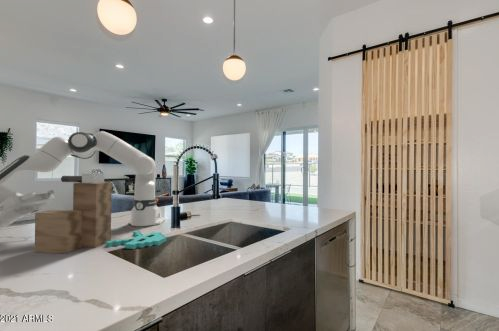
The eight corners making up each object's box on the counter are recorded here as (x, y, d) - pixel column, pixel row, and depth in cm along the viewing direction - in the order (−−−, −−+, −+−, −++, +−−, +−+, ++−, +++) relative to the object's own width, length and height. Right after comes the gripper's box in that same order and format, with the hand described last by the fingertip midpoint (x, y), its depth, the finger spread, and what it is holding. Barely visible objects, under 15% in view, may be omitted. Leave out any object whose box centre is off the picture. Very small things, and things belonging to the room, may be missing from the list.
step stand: (71, 239, 117) (71, 181, 117) (110, 240, 116) (111, 182, 116) (34, 252, 99) (35, 184, 100) (80, 254, 98) (81, 185, 98)
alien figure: (105, 247, 107) (149, 251, 103) (105, 242, 107) (149, 245, 103) (135, 235, 127) (173, 238, 123) (136, 230, 127) (173, 233, 123)
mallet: (69, 181, 116) (70, 172, 116) (104, 182, 114) (104, 173, 114) (56, 182, 109) (56, 173, 109) (93, 183, 107) (93, 173, 107)
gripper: (-11, 204, 104) (16, 187, 103) (36, 198, 125) (59, 184, 124) (-4, 218, 104) (23, 201, 103) (41, 210, 124) (65, 196, 123)
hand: (43, 192), depth 113 cm, fingers open, 8 cm apart
